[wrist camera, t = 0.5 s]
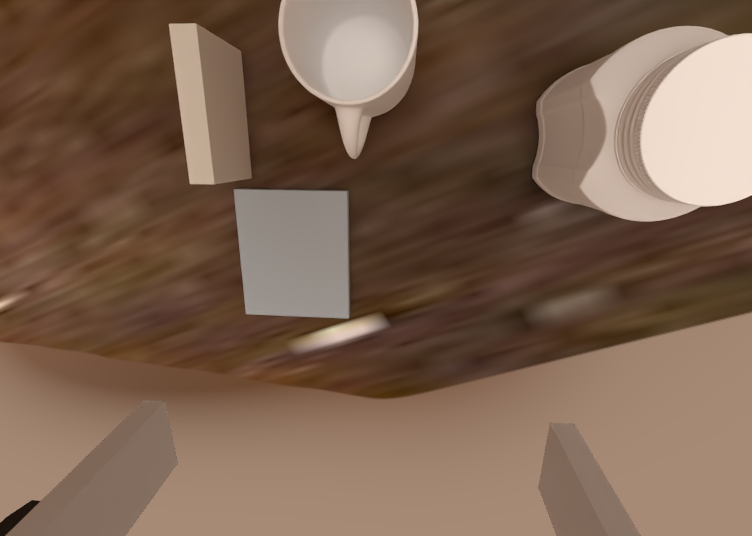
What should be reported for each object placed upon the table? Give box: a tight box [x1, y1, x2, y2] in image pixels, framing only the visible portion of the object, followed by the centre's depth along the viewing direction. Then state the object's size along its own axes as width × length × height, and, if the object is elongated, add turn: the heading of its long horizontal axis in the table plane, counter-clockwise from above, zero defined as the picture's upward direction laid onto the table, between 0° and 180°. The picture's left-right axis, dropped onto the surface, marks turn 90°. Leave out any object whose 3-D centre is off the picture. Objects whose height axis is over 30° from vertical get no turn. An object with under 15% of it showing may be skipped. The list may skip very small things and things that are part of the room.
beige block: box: [169, 23, 252, 184], centre depth 32 cm, size 11×5×8 cm, turn 179°
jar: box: [532, 26, 752, 221], centre depth 26 cm, size 12×10×15 cm
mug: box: [278, 0, 418, 159], centre depth 28 cm, size 9×12×11 cm
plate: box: [234, 188, 350, 318], centre depth 38 cm, size 13×11×1 cm
